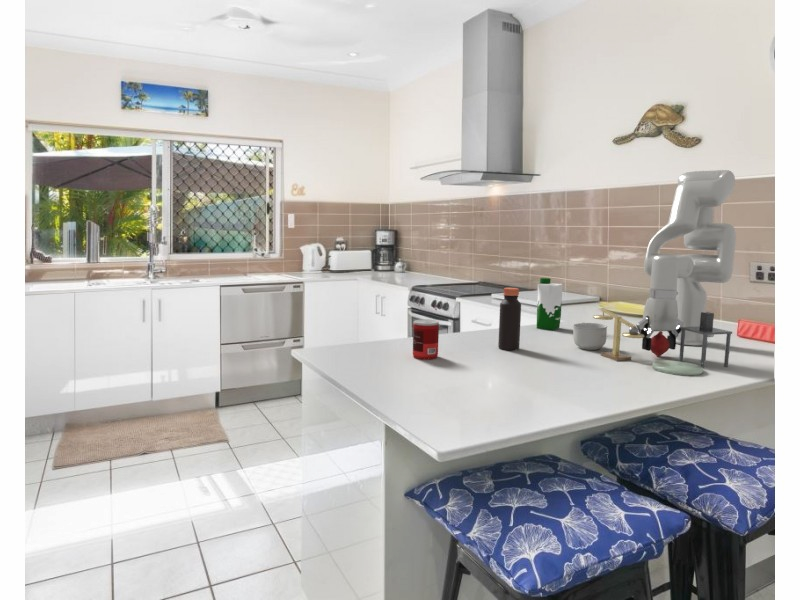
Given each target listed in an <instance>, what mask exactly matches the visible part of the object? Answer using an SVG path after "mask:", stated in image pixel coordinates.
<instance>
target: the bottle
mask: <svg viewBox="0 0 800 600" xmlns="http://www.w3.org/2000/svg"><path fill="white" fill-rule="evenodd" d="M519 294H520V289H519V287H518V288H517V287H504V288H503V297H504V298H503V300H502V301H501V302H500V303H499V321H498V322H499V325H498V345H497V346H498V349H500V350H503V351H508V352H509V351H518V350H519V349H520V341H521V338H520V336H521V320H522V319H521V316H522V315H521V314H522V303H521V302H520V301H519V300H518V297H519Z"/></svg>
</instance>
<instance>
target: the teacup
mask: <svg viewBox="0 0 800 600" xmlns="http://www.w3.org/2000/svg"><path fill="white" fill-rule="evenodd" d="M572 328H573V329H572V333H573V334H572V335H573V336H572V337H573V342H574V345H576V346H577V348H579V349H581V350H588V351H590V350H592V351H593V350H594V351H596V350H600V349H601V348H602V347H604V346H605V344H606V343H607V333H608V332H607V331H608V330H607V329H608V326H607V324H605V323H604V324H603V323H598V322H580V323H574V324H573V325H572Z"/></svg>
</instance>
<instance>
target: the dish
mask: <svg viewBox="0 0 800 600" xmlns="http://www.w3.org/2000/svg"><path fill="white" fill-rule="evenodd" d="M652 369H653V370H655V371H657V370H658V371H657V372H660V371H661V373H664V372H665V374H669V373H670V375H675V374H677V376H686V375H694V376H701V375H702V373H703V374H704V369H703V367H701V365H699V364H695V363H691V362H688V361H687V362H686V361H683V362H681V361H679V360H667V359H665V360H656V361H653V362H652ZM700 374H701V375H700Z"/></svg>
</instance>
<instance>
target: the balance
mask: <svg viewBox="0 0 800 600" xmlns="http://www.w3.org/2000/svg"><path fill="white" fill-rule="evenodd" d="M600 311H602V314H594V315H593V316H592V318H593V319H595V320H596V319H597V320H602V321H603V320H604V321H605V320H607V321H609V320H614V325H613V341H612V351H601V352H600V356H602V357H603V358H608V359H610V360H612V361H616V362H623V361H624V362H626V361H627V362H628V361H632V357H631V356H629V355H625V354H623V353H620V347H621V346H620V345H621V335H622V337H625V338H630V339H643V338H644V335H643V334H640V333H639V331H638V328H637V326H636V324H633V323H631V322H629V321H628V320H626V319H624V318H623V317H622V316H619V315H618V314H616V313H614V312H612V311H611V310H609V309H607V308H605V307H602V308H601V310H600ZM606 314H607V315H606ZM622 324H624V325H625V326H626V327H629V328H628V329H629V330H628V331H627V332H623V333H622ZM621 333H622V334H621Z"/></svg>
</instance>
